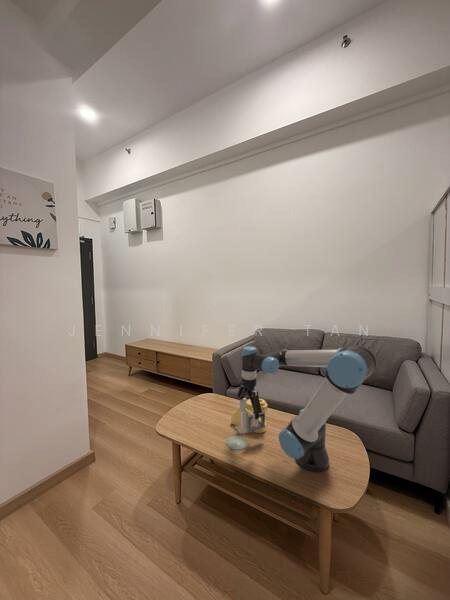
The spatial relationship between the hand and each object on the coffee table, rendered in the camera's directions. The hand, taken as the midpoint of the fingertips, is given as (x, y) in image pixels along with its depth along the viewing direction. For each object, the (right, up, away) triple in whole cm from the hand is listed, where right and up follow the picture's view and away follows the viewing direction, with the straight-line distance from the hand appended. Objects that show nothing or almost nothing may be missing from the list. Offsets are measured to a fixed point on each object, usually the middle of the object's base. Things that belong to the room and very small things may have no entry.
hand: (248, 417), depth 126 cm
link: (+4, -7, +2) cm, 8 cm away
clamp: (+3, -14, +18) cm, 23 cm away
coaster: (-6, -14, +2) cm, 16 cm away
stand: (+1, -14, +9) cm, 16 cm away
